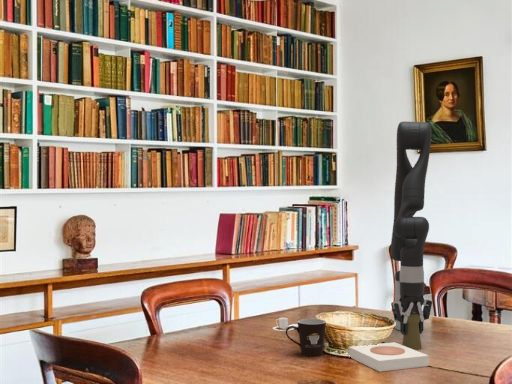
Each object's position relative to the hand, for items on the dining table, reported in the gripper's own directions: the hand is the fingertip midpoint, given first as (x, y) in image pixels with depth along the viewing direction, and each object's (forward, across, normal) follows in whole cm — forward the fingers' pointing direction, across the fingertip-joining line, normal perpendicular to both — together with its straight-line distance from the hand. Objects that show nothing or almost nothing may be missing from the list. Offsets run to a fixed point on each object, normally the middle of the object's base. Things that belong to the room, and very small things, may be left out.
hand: (411, 333), depth 230 cm
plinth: (+4, +16, +12) cm, 20 cm away
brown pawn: (+5, 0, 0) cm, 5 cm away
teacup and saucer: (+5, +26, -39) cm, 47 cm away
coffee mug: (+5, +34, -5) cm, 35 cm away
